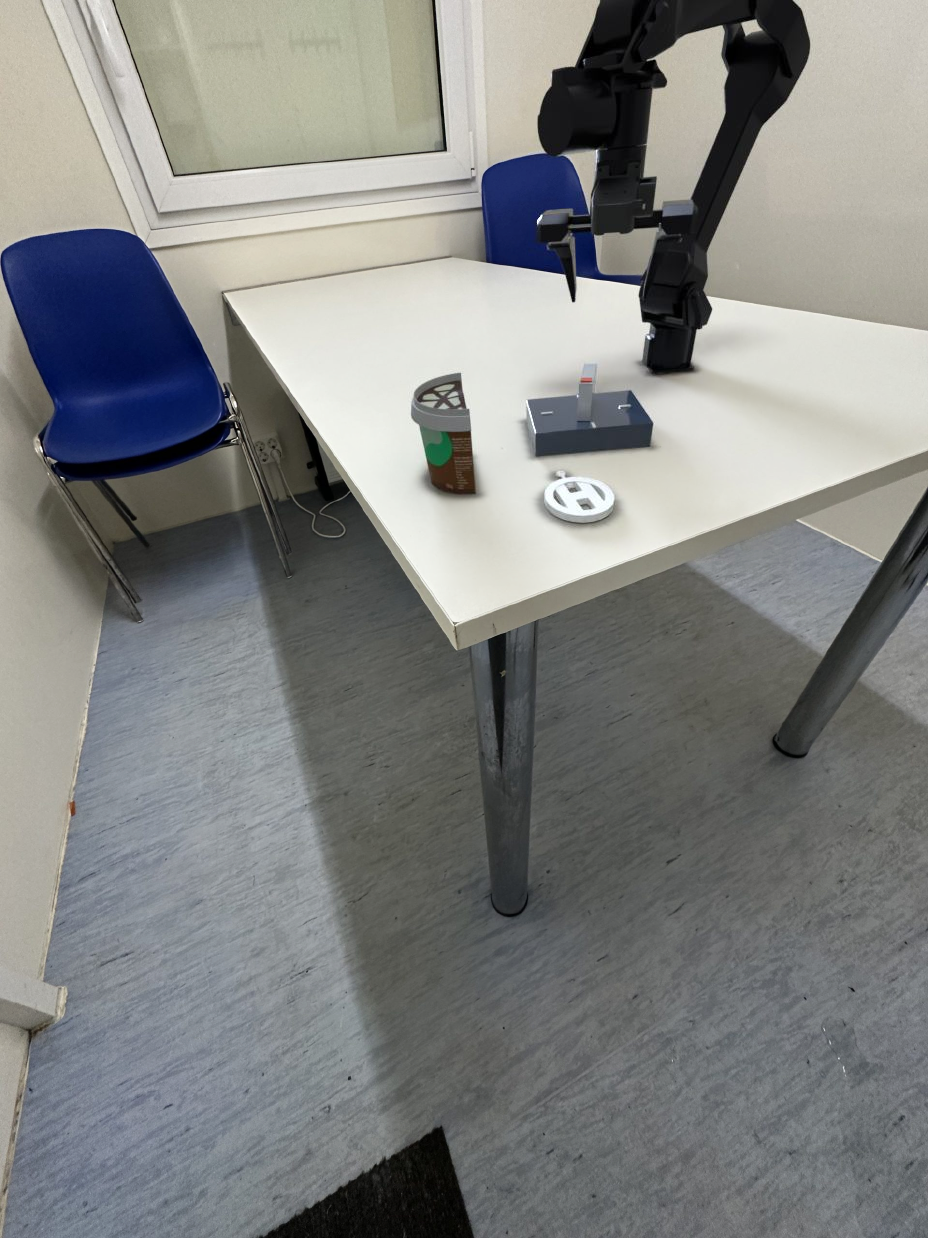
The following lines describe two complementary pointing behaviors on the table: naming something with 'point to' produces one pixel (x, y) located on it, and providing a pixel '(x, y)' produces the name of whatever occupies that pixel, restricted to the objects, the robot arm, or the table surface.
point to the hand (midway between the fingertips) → (608, 300)
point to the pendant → (579, 499)
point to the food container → (445, 433)
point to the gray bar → (586, 392)
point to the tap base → (588, 424)
